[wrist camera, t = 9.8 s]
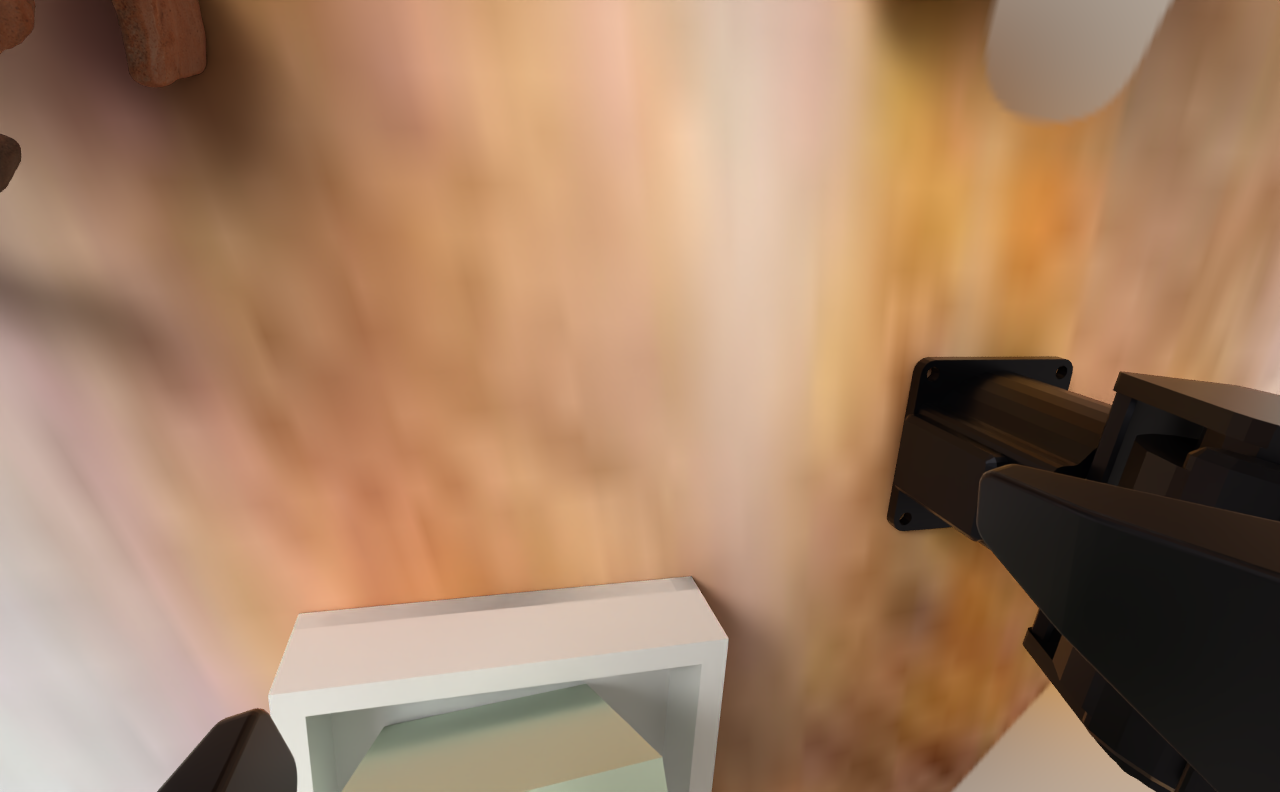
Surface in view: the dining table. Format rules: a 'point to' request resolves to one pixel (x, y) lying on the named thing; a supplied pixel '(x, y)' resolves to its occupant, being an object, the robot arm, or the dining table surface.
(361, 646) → the grey crate
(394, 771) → the green crate
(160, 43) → the pottery mug
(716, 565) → the dining table surface
